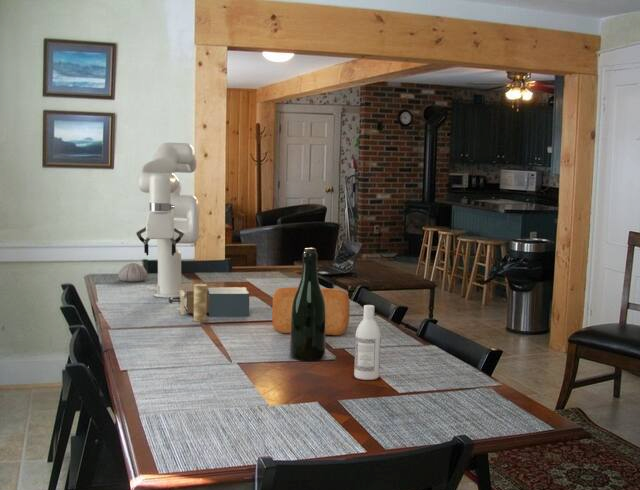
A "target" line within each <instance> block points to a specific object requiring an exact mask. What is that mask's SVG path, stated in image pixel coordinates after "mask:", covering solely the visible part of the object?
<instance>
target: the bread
mask: <svg viewBox="0 0 640 490" xmlns="http://www.w3.org/2000/svg"><path fill="white" fill-rule="evenodd" d="M298 287H299V286H288V287H287V286H286V287H280V288H278V289H276V290H275V291H274V292H273V295H272V308H271V309H272V312H271V322H272V326H273V328H274V330H275V331H277V332H279V333H283V334H291V316H292V304H293V300H294V297H295V294H296V292H297V289H298ZM320 289H321V292H322V294H323V297H324V302H325V315H326V318H325V336H342V335H343V334H344V333H345V332H346V331H347V329H348V327H349V322H350V310H351V309H350V307H351V305H350V302H351V301H350V297H349V295H348V293H347V292H346V291H345V290H343V289H341V288H327V287H320Z"/></svg>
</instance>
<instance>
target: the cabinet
mask: <svg viewBox="0 0 640 490" xmlns="http://www.w3.org/2000/svg"><path fill="white" fill-rule="evenodd" d="M207 291H208V293H209V313H207V315H208V317H209V318H219V317H220V318H222V317H225V318H227V317H250V292H249V290H248V289H247V287H245V286H244V287H243V286H240V287H239V286H236V287H235V286H234V287H233V286H232V287H229V286H228V287H221V286H220V287H213V286H212V287H211V286H210V287H208V286H207Z"/></svg>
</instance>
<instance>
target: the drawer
mask: <svg viewBox="0 0 640 490" xmlns="http://www.w3.org/2000/svg"><path fill="white" fill-rule="evenodd" d="M184 293H185V292H184V290H183V289H181V290H180V297H176V298H172V297H169V298H168V302H169V304H173V303H179V311H180V315H185V295H184ZM186 310H187V311H186V312H187V314H194V290H187V291H186ZM208 313H209V293H208V291H207V314H208Z"/></svg>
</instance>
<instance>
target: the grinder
mask: <svg viewBox="0 0 640 490" xmlns="http://www.w3.org/2000/svg"><path fill="white" fill-rule="evenodd" d="M207 287H208V285H207V284H204V283H196V284H195V283H194V284H193V291H194V313H193V322H196V323H204V322H207V320H208V319H207V318H208V313H207Z"/></svg>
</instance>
